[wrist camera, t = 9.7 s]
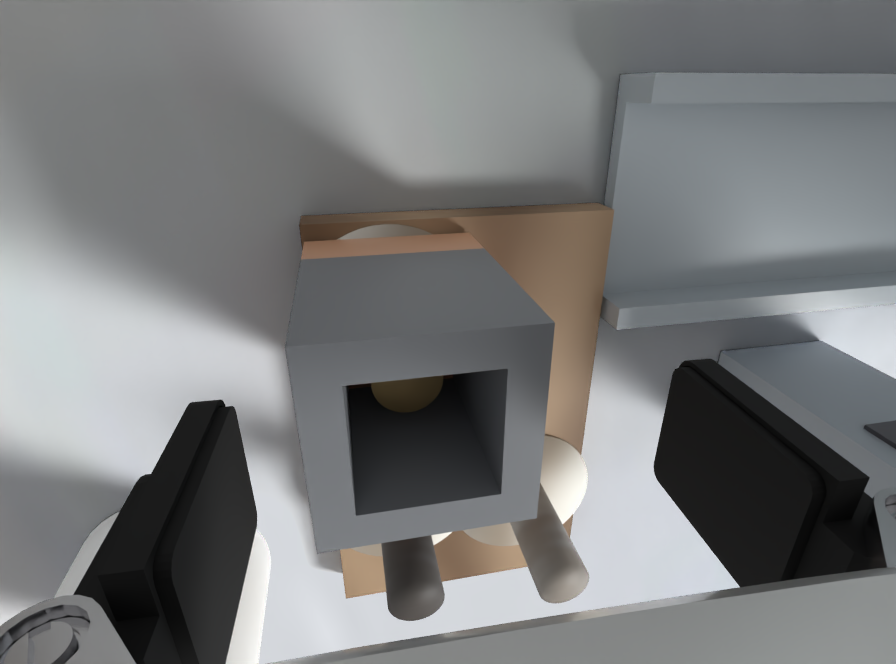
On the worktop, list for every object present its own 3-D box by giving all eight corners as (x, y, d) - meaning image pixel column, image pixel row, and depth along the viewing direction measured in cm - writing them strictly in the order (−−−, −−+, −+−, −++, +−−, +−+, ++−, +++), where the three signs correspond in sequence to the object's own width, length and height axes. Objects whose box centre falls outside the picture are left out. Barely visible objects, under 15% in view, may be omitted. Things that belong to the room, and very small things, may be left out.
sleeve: (469, 232, 16) (554, 323, 10) (467, 371, 18) (536, 518, 12) (304, 241, 15) (284, 347, 9) (322, 387, 17) (316, 553, 11)
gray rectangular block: (822, 337, 23) (1135, 496, 14) (795, 416, 24) (1058, 602, 16) (721, 348, 22) (987, 525, 13) (701, 428, 24) (923, 633, 15)
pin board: (608, 202, 18) (715, 246, 13) (564, 538, 25) (623, 652, 20) (288, 216, 16) (267, 275, 11) (336, 576, 23) (337, 714, 18)
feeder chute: (984, 75, 19) (1052, 74, 17) (902, 282, 22) (951, 298, 21) (620, 74, 16) (655, 72, 15) (590, 308, 20) (616, 329, 18)
